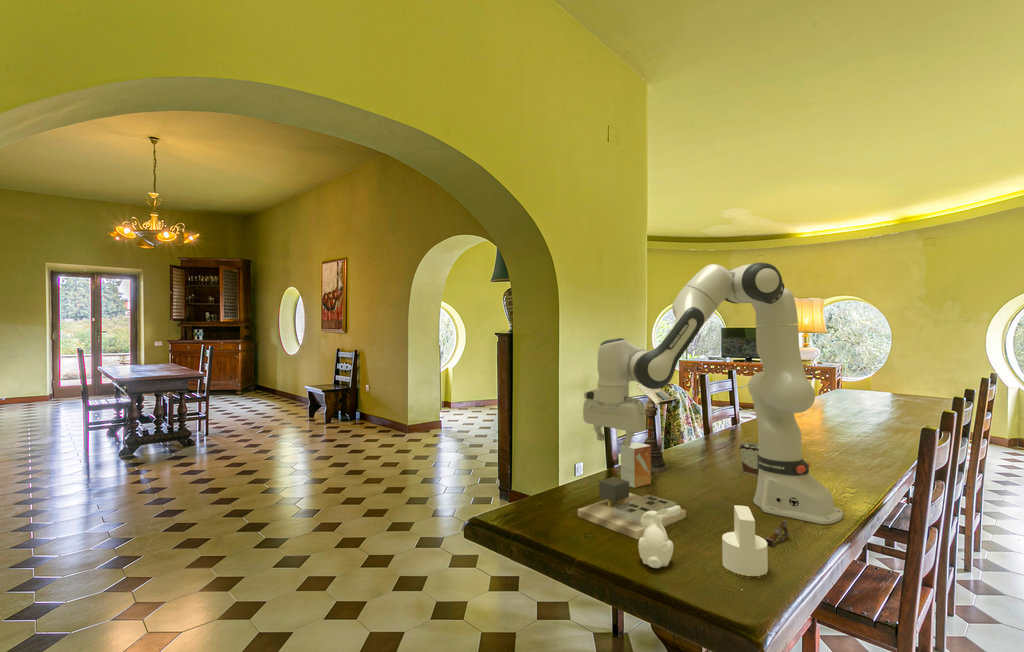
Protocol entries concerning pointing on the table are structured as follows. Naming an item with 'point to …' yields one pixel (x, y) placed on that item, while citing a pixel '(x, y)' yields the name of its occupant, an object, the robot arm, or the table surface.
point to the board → (604, 517)
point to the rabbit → (656, 538)
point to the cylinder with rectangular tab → (744, 546)
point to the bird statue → (650, 412)
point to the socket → (640, 508)
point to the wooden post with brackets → (777, 533)
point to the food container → (749, 457)
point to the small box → (636, 464)
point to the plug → (614, 490)
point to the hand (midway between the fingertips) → (613, 443)
